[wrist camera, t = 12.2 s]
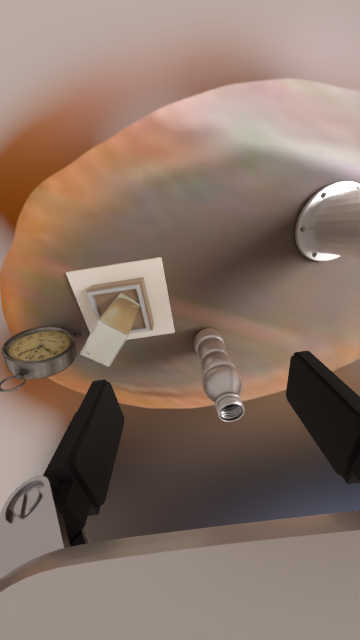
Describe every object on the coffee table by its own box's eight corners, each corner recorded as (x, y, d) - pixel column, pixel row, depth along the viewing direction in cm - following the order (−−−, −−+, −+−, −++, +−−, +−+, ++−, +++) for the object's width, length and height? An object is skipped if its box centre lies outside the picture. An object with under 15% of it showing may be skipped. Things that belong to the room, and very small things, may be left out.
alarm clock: (86, 328, 42) (40, 382, 27) (86, 348, 44) (44, 408, 30) (32, 320, 41) (-46, 372, 26) (35, 342, 43) (-34, 401, 28)
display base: (161, 256, 36) (160, 260, 32) (174, 330, 43) (175, 342, 39) (68, 271, 37) (54, 277, 32) (96, 342, 44) (88, 354, 39)
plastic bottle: (187, 343, 45) (198, 421, 27) (202, 319, 42) (224, 388, 24) (211, 353, 46) (236, 433, 28) (226, 331, 44) (265, 403, 26)
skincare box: (126, 328, 38) (108, 369, 27) (105, 317, 37) (77, 356, 26) (142, 302, 36) (129, 336, 25) (121, 290, 34) (97, 319, 23)
